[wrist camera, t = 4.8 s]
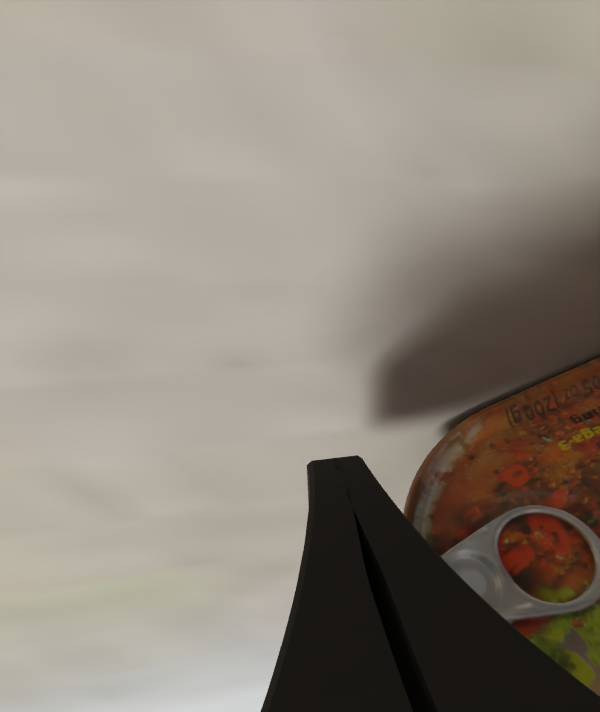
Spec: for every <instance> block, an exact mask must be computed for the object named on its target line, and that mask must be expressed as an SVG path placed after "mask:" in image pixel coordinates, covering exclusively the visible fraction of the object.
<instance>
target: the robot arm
mask: <svg viewBox="0 0 600 712" xmlns="http://www.w3.org/2000/svg"><path fill="white" fill-rule="evenodd" d="M307 476H308V498H309V513H308V521H307V529H306V538H305V545H304V551H303V556H302V561H301V566H300V572H299V577H298V582H297V587H296V591H295V595H294V600H293V604H292V608H291V612H290V616H289V620H288V624H287V627H286V631H285V635H284V639H283V642H282V645H281V649H280V652H279V656H278V659H277V662H276V666H275V669H274V673H273V676H272V679H271V682H270V685H269V689H268V692H267V695H266V698H265V701H264V704H263V707H262V710H261V712H600V696H599V695H597V694H596V693H595V692H593V691H592V690H591V689H589V688H588V687H587V686H585V685H584V684H583V683H581V682H580V681H579V680H578V679H577V678H575V677H574V676H573V675H572V674H570V673H569V672H568V671H567V670H565V669H564V668H563V667H562V666H561V665H559V664H558V663H557V662H556V661H554V660H553V659H552V658H551V657H550V656H548V655H547V654H546V653H545V652H543V651H542V650H541V649H540V648H538V647H537V646H536V645H535V644H534V643H532V642H531V641H530V640H529V639H527V638H526V637H525V636H524V635H523V634H521V633H520V632H519V631H518V630H517V629H516V628H515V627H513V626H512V625H511V624H510V623H509V622H508V621H507V620H506V619H504V618H503V617H502V616H501V615H500V614H499V613H498V612H497V611H496V610H494V609H493V608H492V607H491V606H490V605H489V604H488V603H487V602H486V601H485V600H484V599H483V598H482V597H480V596H479V595H478V594H477V593H476V592H475V591H474V590H473V589H472V588H471V587H470V586H469V585H468V584H467V583H466V582H465V581H464V580H463V579H462V578H461V577H460V576H459V575H458V574H457V573H456V572H455V571H454V570H453V569H452V568H451V567H450V566H449V565H448V564H447V563H446V562H445V561H444V560H443V559H442V557H441V556H440V555H439V554H438V553H437V552H436V551H435V550H434V549H433V548H432V547H431V546H430V545H429V543H428V542H427V541H426V540H425V539H424V538H423V537H422V536H421V534H420V533H419V532H418V531H417V530H416V529H415V527H414V526H413V525H412V524H411V523H410V521H409V520H408V519H407V518H406V517H405V516H404V514H403V513H402V512H401V511H400V510H399V508H398V507H397V506H396V505H395V503H394V502H393V501H392V500H391V498H390V497H389V496H388V494H387V493H386V492H385V490H384V489H383V488H382V486H381V485H380V484H379V482H378V481H377V480H376V478H375V477H374V475H373V474H372V473H371V471H370V470H369V468H368V467H367V465H366V464H365V462H364V461H363V459H362V458H361V457H359V456H349V457H341V458H332V459H324V460H315V461H311V462H310V463H309V464H308V465H307Z"/></svg>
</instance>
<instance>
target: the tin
mask: <svg viewBox="0 0 600 712" xmlns="http://www.w3.org/2000/svg"><path fill="white" fill-rule="evenodd" d="M403 514H404V516H405V517H406V518H407V519H408V520H409V521H410V523H411V524H412V525H413V526H414V527H415V529H416V530H417V531H418V532H419V533H420V534H421V536H422V537H423V538H424V539H425V540H426V541H427V542H428V543H429V545H430V546H431V547H432V548H433V549H434V550H435V551H436V552H437V553H438V554H439V555H440V556H441V557H442V559H443V560H444V561H445V562H446V563H447V564H448V565H449V566H450V567H451V568H452V569H453V570H454V571H455V572H456V573H457V574H458V575H459V576H460V577H461V578H462V579H463V580H464V581H465V582H466V583H467V584H468V585H469V586H470V587H471V588H472V589H473V590H474V591H475V592H476V593H477V594H478V595H479V596H480V597H482V598H483V599H484V600H485V601H486V602H487V603H488V604H489V605H490V606H491V607H492V608H493V609H494V610H496V611H497V612H498V613H499V614H500V615H501V616H502V617H503V618H504V619H506V620H507V621H508V622H509V623H510V624H511V625H512V626H513V627H515V628H516V629H517V630H518V631H519V632H520V633H521V634H523V635H524V636H525V637H526V638H527V639H529V640H530V641H531V642H532V643H534V644H535V645H536V646H537V647H538V648H540V649H541V650H542V651H543V652H545V653H546V654H547V655H548V656H550V657H551V658H552V659H553V660H554V661H556V662H557V663H558V664H559V665H561V666H562V667H563V668H564V669H565V670H567V671H568V672H569V673H570V674H572V675H573V676H574V677H575V678H577V679H578V680H579V681H580V682H581V683H583V684H584V685H585V686H587V687H588V688H589V689H591V690H592V691H593V692H595V693H596V694H597V695H599V696H600V357H598V358H595V359H593V360H591V361H589V362H587V363H584V364H582V365H580V366H578V367H576V368H573V369H571V370H569V371H566V372H564V373H562V374H559V375H557V376H555V377H553V378H550V379H548V380H546V381H544V382H542V383H539V384H537V385H535V386H533V387H531V388H528V389H526V390H524V391H522V392H519V393H517V394H515V395H512V396H510V397H508V398H506V399H504V400H501V401H499V402H497V403H495V404H493V405H491V406H489V407H486V408H484V409H482V410H481V411H479V412H477V413H475V414H473V415H471V416H470V417H468V418H467V419H465V420H464V421H462V422H461V423H460V424H458V425H457V426H456V427H455V428H454V429H452V430H451V431H450V432H449V433H448V434H447V435H446V436H445V437H444V438H443V439H442V440H441V441H440V442H439V443H438V444H437V445H436V446H435V447H434V448H433V449H432V450H431V452H430V453H429V454H428V456H427V457H426V459H425V460H424V462H423V463H422V465H421V467H420V468H419V470H418V471H417V473H416V476H415V478H414V480H413V482H412V485H411V487H410V490H409V493H408V496H407V499H406V503H405V507H404V513H403Z"/></svg>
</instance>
